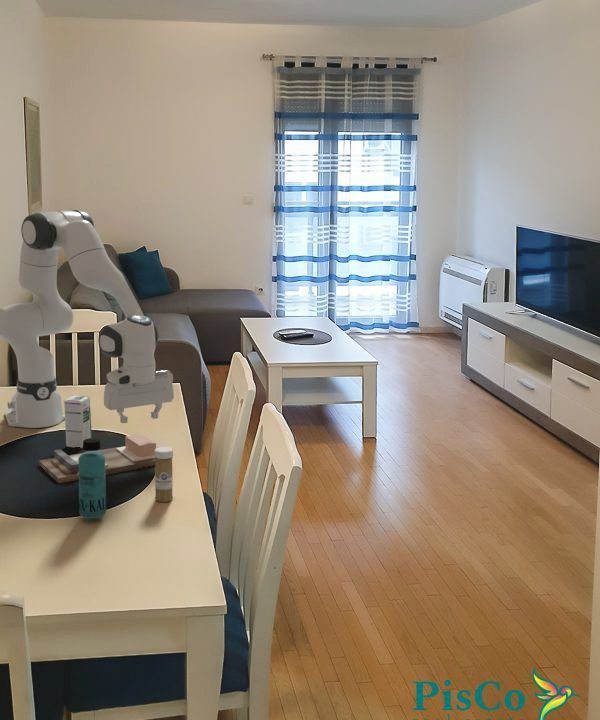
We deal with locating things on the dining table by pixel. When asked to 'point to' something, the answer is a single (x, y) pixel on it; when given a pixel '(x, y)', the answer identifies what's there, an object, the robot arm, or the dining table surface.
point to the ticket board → (109, 459)
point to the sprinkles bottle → (163, 474)
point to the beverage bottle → (92, 480)
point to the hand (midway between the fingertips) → (139, 420)
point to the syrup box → (77, 420)
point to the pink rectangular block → (138, 447)
